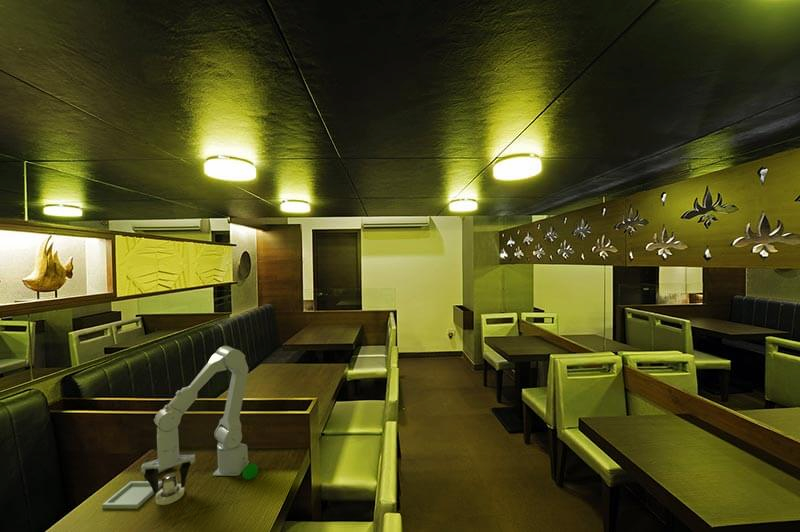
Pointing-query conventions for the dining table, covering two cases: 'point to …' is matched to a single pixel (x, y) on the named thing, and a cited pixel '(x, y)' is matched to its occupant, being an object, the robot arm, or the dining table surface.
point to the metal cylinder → (169, 484)
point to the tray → (131, 496)
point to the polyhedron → (250, 471)
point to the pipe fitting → (161, 469)
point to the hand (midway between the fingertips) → (169, 488)
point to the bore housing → (170, 499)
